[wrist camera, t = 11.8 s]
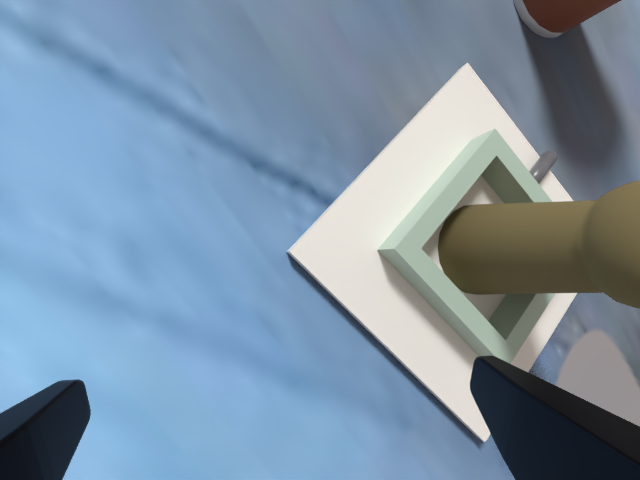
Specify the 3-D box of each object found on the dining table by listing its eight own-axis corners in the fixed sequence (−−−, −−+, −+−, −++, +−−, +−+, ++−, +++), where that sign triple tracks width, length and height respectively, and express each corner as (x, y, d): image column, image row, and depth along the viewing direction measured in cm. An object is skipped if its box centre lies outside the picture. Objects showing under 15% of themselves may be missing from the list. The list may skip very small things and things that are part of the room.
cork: (427, 216, 20) (647, 175, 10) (498, 195, 22) (748, 140, 12) (451, 307, 21) (692, 361, 10) (519, 278, 22) (784, 298, 12)
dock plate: (475, 436, 22) (511, 461, 19) (286, 251, 18) (297, 250, 16) (598, 240, 26) (641, 239, 23) (463, 65, 23) (495, 39, 20)
